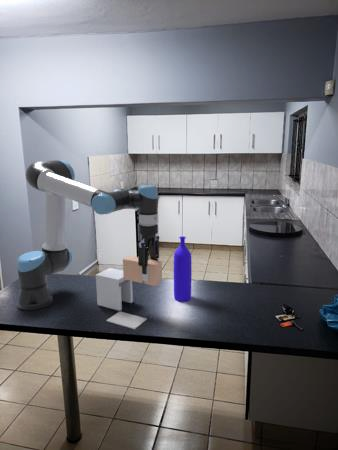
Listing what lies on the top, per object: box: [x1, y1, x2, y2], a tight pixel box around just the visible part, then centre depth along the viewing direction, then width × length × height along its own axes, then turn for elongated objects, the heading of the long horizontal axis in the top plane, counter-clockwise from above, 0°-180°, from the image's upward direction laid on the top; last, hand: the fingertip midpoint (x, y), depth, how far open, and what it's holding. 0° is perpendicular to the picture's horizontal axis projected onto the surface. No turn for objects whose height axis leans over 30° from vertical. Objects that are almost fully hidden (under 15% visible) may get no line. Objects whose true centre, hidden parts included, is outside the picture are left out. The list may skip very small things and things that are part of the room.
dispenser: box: [95, 267, 134, 312], centre depth 154 cm, size 13×10×14 cm
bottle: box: [173, 236, 193, 303], centre depth 156 cm, size 8×8×30 cm
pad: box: [106, 310, 148, 330], centre depth 140 cm, size 14×9×1 cm, turn 61°
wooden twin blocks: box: [122, 255, 163, 287], centre depth 142 cm, size 16×5×9 cm, turn 62°
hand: (149, 278), depth 141 cm, fingers closed on wooden twin blocks, 5 cm apart
